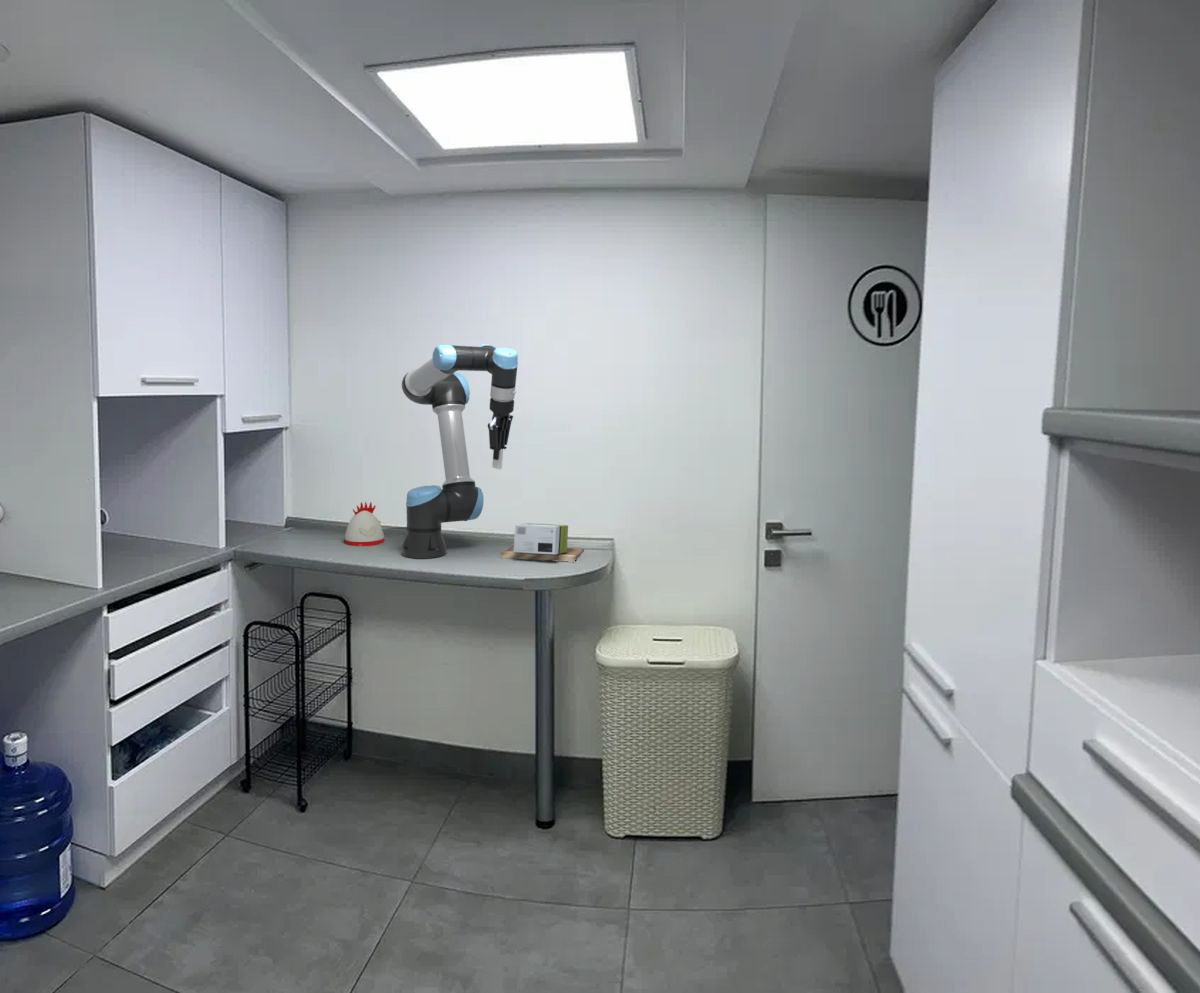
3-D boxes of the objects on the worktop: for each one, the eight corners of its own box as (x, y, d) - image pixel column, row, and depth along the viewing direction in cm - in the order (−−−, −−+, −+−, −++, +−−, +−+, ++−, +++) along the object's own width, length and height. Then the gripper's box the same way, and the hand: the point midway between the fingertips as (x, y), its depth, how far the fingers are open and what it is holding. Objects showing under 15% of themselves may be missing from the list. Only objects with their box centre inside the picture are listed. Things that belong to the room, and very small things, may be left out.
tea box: (514, 523, 256) (528, 522, 271) (512, 552, 256) (526, 550, 271) (557, 525, 253) (568, 525, 267) (555, 555, 253) (567, 553, 267)
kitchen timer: (388, 544, 277) (387, 504, 275) (349, 547, 270) (348, 506, 268) (379, 537, 289) (378, 498, 287) (341, 540, 282) (340, 500, 280)
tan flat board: (500, 557, 261) (500, 552, 261) (514, 546, 278) (514, 541, 278) (574, 562, 257) (574, 556, 257) (583, 550, 274) (583, 545, 274)
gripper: (503, 406, 230) (497, 477, 240) (522, 396, 241) (516, 464, 251) (481, 400, 232) (476, 471, 242) (501, 391, 243) (496, 458, 253)
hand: (496, 467), depth 246 cm, fingers closed
